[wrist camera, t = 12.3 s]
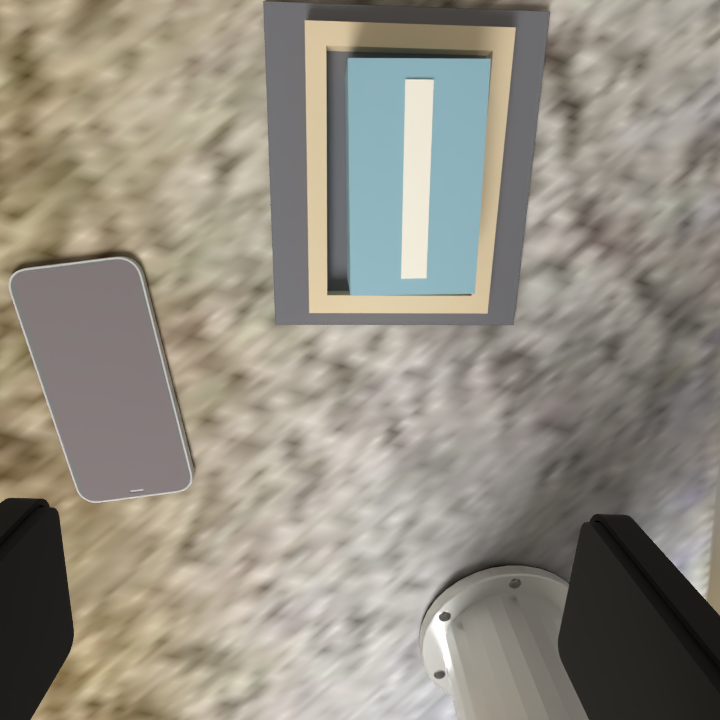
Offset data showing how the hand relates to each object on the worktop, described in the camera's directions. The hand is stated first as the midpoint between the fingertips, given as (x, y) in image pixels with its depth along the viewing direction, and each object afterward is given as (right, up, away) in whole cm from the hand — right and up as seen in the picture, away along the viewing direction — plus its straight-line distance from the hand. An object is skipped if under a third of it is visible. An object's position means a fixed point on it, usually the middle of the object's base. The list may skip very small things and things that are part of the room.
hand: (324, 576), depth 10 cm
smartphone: (-14, +2, +23) cm, 27 cm away
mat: (+3, +14, +19) cm, 24 cm away
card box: (+3, +13, +19) cm, 23 cm away
